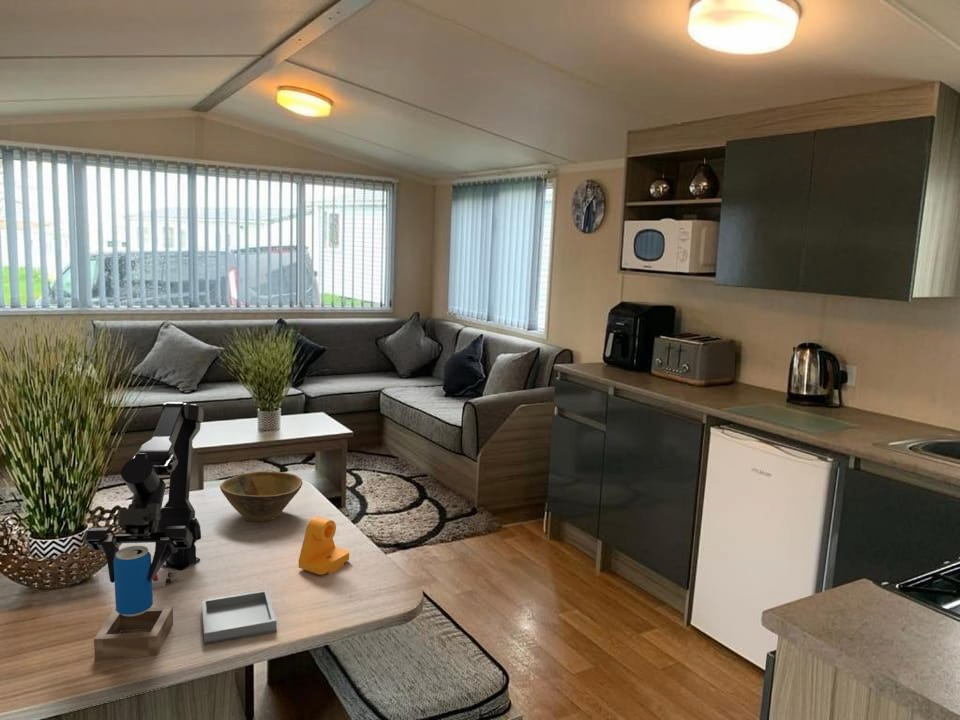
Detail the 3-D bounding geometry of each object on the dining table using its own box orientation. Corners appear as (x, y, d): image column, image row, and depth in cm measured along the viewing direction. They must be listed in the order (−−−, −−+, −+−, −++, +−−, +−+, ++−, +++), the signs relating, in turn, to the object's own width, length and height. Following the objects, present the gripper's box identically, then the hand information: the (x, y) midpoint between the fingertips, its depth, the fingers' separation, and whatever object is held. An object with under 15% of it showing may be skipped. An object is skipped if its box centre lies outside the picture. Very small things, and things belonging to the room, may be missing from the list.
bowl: (278, 495, 215) (278, 465, 213) (315, 518, 199) (315, 485, 197) (208, 511, 200) (207, 478, 199) (242, 538, 184) (241, 502, 182)
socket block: (116, 627, 140) (115, 608, 139) (173, 624, 142) (172, 606, 141) (94, 658, 129) (93, 639, 129) (157, 655, 131) (156, 636, 130)
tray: (204, 645, 135) (204, 633, 135) (201, 611, 147) (201, 600, 147) (276, 631, 141) (276, 620, 140) (267, 600, 153) (267, 589, 152)
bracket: (321, 578, 164) (321, 530, 162) (298, 570, 167) (298, 523, 165) (350, 561, 173) (351, 516, 171) (328, 554, 176) (328, 509, 174)
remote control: (112, 580, 160) (111, 568, 159) (185, 573, 164) (185, 561, 164) (106, 594, 153) (105, 581, 153) (182, 586, 158) (182, 574, 158)
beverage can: (160, 607, 136) (157, 550, 134) (128, 622, 130) (125, 562, 128) (140, 597, 139) (138, 541, 137) (109, 611, 134) (106, 553, 132)
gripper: (84, 489, 133) (63, 569, 124) (186, 487, 136) (173, 566, 127) (102, 511, 142) (83, 588, 133) (197, 509, 145) (185, 584, 136)
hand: (130, 581), depth 132 cm, fingers closed on beverage can, 6 cm apart
